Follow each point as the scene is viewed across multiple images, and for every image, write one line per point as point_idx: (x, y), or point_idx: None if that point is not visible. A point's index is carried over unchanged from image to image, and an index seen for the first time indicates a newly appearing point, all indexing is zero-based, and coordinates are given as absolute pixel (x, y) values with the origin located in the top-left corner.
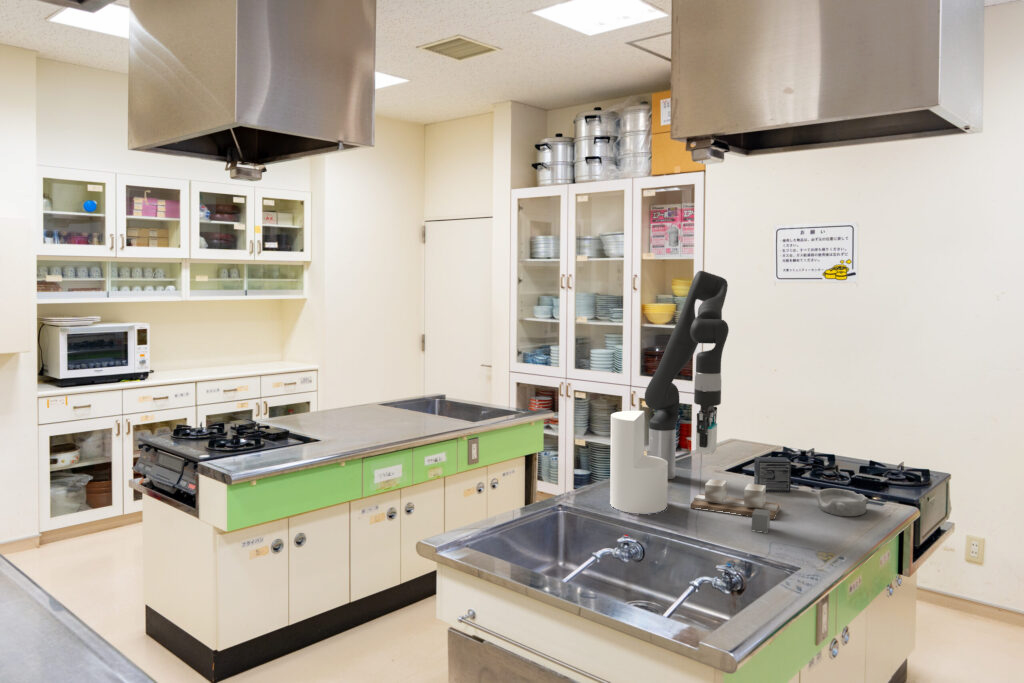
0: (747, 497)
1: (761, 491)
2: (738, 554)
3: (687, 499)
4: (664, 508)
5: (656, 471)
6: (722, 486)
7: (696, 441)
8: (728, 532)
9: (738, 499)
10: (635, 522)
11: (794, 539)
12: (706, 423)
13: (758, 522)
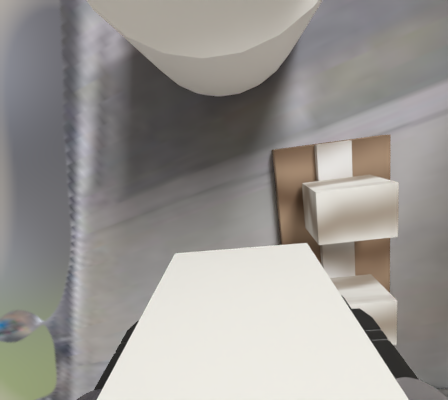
0: None
1: None
2: (54, 326)
3: (354, 108)
4: (215, 95)
5: (139, 45)
6: (325, 243)
7: (153, 299)
8: (155, 279)
9: (380, 244)
10: (83, 72)
11: None
12: None
13: None
